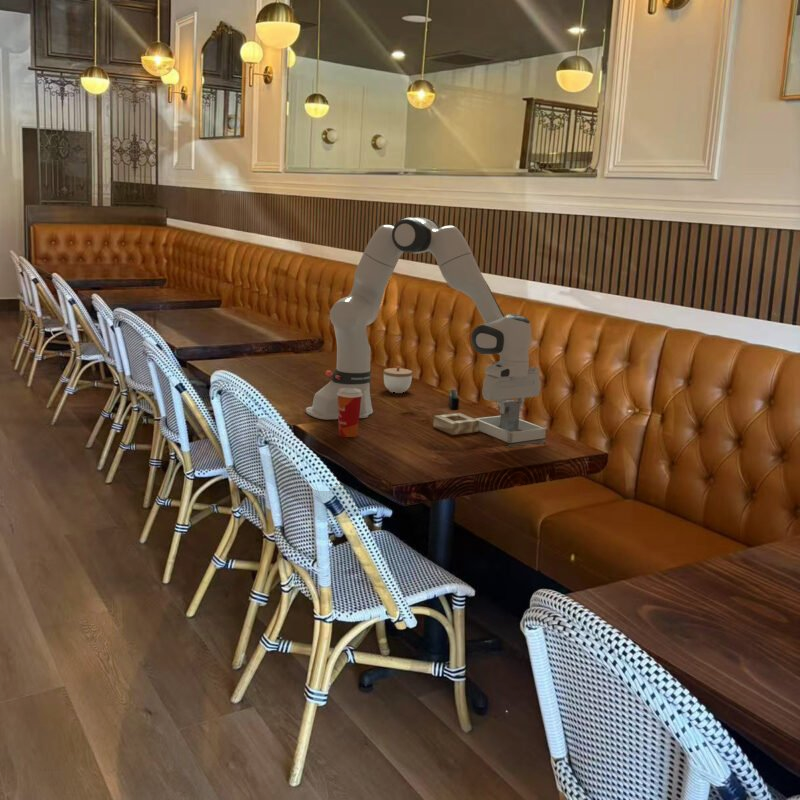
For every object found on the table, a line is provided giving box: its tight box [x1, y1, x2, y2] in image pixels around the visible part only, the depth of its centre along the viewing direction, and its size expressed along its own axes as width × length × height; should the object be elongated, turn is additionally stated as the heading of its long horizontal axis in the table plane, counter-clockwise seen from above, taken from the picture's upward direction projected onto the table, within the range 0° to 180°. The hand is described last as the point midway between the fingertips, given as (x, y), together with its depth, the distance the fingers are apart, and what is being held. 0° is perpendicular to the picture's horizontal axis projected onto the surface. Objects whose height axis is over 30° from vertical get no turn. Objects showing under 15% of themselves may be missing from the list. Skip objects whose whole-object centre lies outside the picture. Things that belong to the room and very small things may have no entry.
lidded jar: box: [383, 365, 413, 394], centre depth 325 cm, size 11×11×9 cm
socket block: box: [432, 412, 479, 436], centre depth 271 cm, size 10×10×5 cm
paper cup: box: [337, 388, 362, 438], centre depth 263 cm, size 8×8×14 cm
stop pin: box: [499, 399, 521, 432], centre depth 269 cm, size 4×4×9 cm
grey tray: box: [474, 415, 547, 448], centre depth 270 cm, size 14×18×4 cm
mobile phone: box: [448, 389, 460, 411], centre depth 308 cm, size 5×3×15 cm
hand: (510, 412), depth 269 cm, fingers closed on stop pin, 4 cm apart
